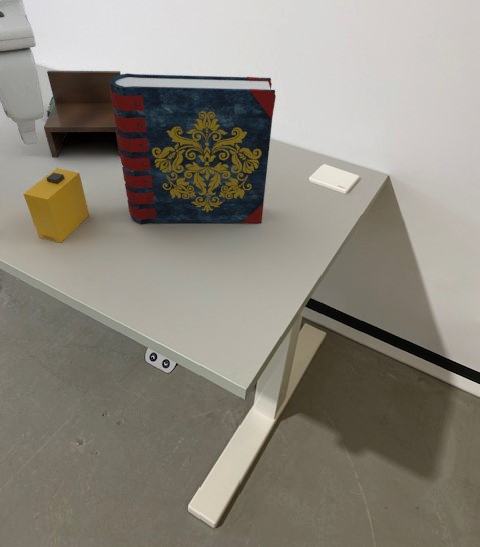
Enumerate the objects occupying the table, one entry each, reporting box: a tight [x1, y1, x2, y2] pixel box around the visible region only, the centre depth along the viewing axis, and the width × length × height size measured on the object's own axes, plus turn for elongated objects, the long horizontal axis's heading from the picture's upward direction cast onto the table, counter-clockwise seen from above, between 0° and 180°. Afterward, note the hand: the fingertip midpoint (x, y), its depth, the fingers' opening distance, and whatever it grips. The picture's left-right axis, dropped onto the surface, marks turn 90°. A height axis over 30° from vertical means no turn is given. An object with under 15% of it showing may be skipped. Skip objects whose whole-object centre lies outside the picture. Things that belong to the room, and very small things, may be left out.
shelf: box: [43, 70, 122, 158], centre depth 95 cm, size 16×14×14 cm
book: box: [109, 72, 277, 225], centre depth 73 cm, size 25×7×25 cm, turn 94°
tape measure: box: [23, 167, 90, 244], centre depth 73 cm, size 9×4×10 cm, turn 163°
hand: (21, 128), depth 59 cm, fingers open, 8 cm apart
